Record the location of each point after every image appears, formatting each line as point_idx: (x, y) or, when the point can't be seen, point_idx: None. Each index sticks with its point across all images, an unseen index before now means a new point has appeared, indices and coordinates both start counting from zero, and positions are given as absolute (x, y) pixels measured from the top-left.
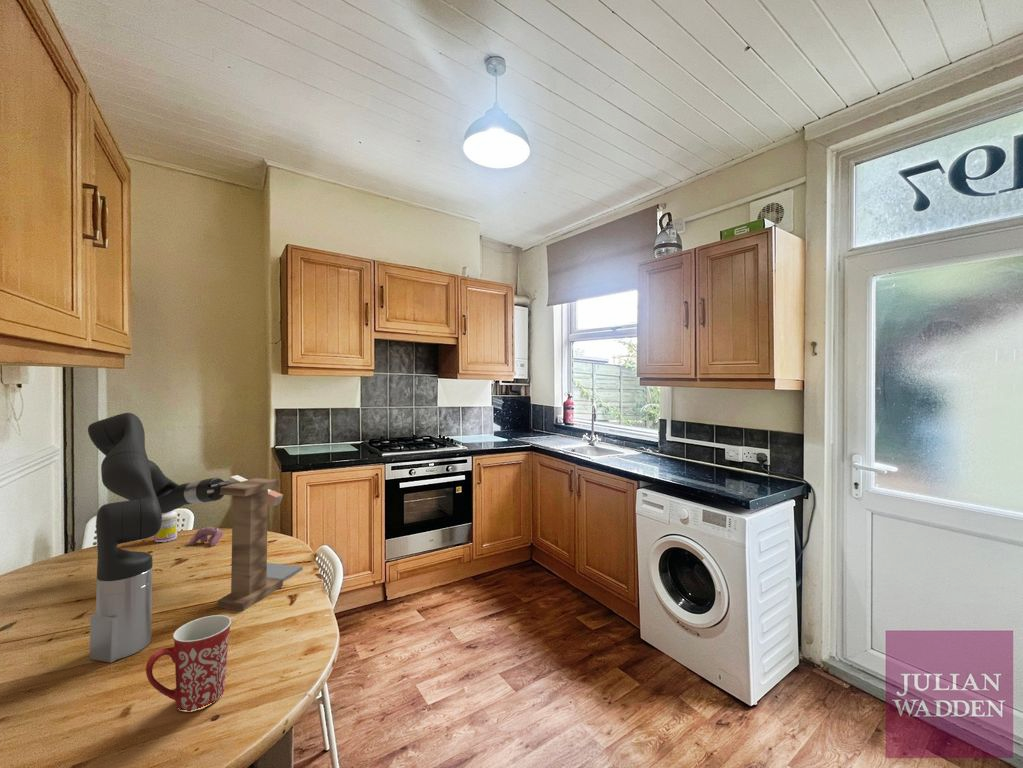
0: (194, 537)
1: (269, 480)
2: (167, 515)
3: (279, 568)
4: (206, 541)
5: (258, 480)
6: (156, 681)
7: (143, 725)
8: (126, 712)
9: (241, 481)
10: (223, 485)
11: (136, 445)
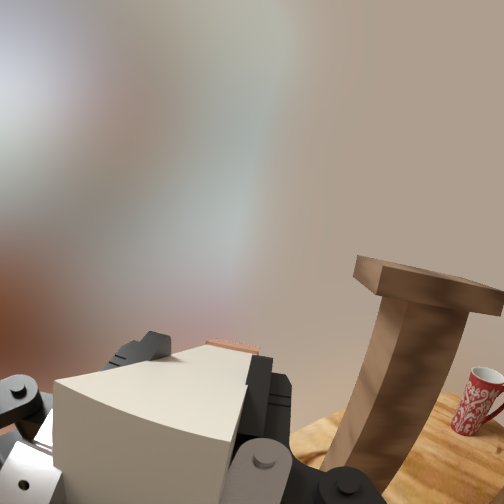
0: None
1: (380, 260)
2: None
3: None
4: None
5: (399, 266)
6: (500, 406)
7: (491, 434)
8: (499, 449)
9: (237, 384)
10: (378, 494)
11: None
